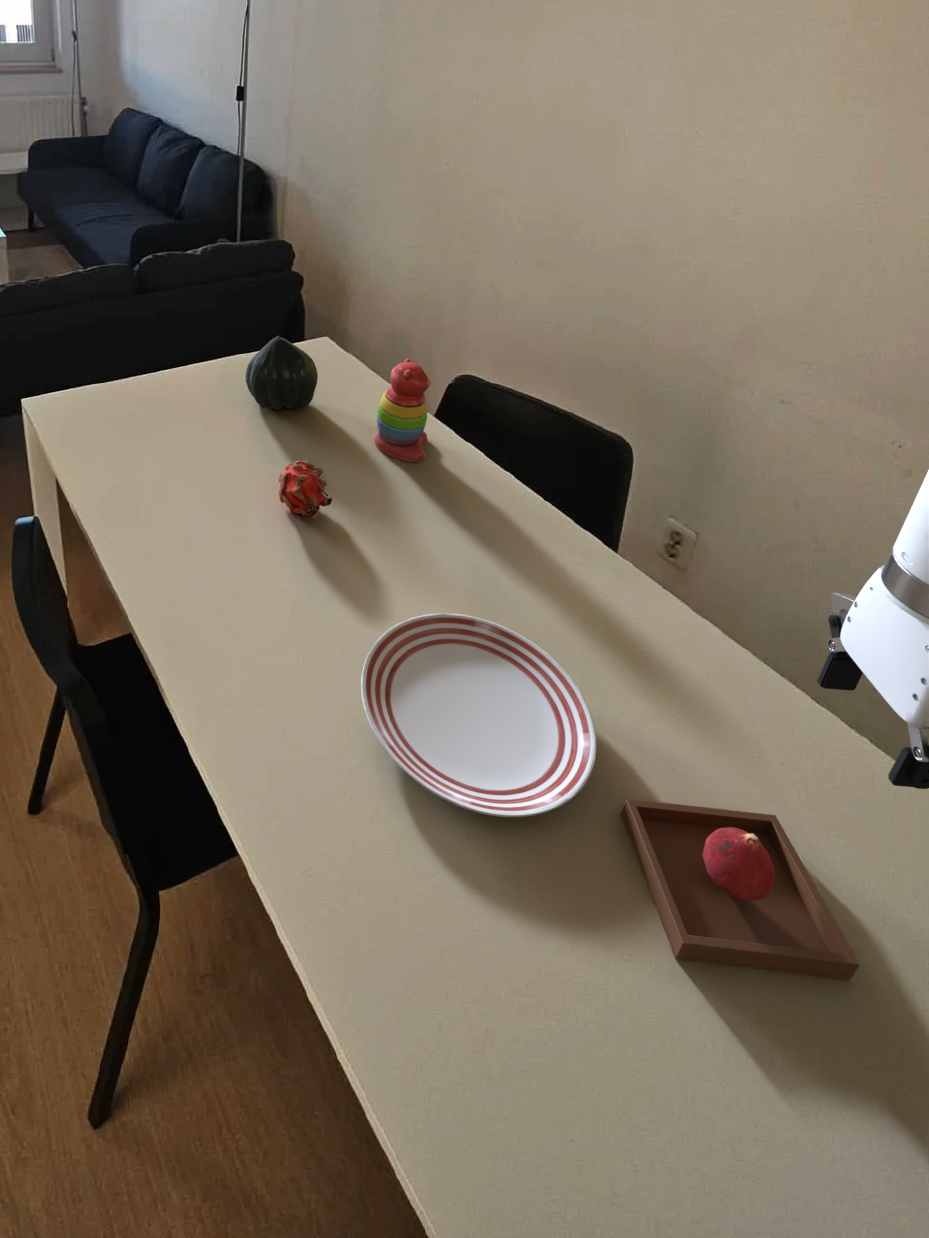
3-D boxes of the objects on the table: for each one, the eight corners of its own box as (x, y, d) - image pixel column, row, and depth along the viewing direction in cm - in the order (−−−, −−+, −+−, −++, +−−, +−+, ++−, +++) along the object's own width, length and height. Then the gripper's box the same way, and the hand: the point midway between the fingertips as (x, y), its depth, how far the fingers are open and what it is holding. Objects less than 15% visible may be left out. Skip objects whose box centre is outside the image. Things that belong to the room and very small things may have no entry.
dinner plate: (540, 890, 76) (547, 869, 75) (316, 723, 92) (318, 704, 91) (620, 711, 95) (626, 692, 94) (423, 599, 111) (426, 582, 110)
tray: (767, 830, 82) (775, 814, 81) (849, 980, 70) (860, 964, 69) (620, 813, 83) (626, 798, 82) (675, 959, 71) (683, 943, 70)
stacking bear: (423, 465, 143) (437, 382, 135) (369, 454, 145) (380, 372, 138) (427, 436, 152) (441, 357, 145) (377, 426, 155) (388, 348, 148)
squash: (309, 408, 150) (318, 335, 154) (235, 399, 153) (247, 328, 157) (314, 421, 163) (323, 354, 167) (246, 413, 166) (256, 347, 170)
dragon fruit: (294, 490, 137) (312, 542, 127) (259, 472, 133) (275, 525, 123) (326, 459, 134) (347, 510, 124) (291, 440, 130) (310, 491, 120)
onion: (704, 908, 74) (728, 858, 71) (686, 849, 80) (708, 799, 76) (770, 926, 73) (798, 875, 70) (748, 864, 78) (773, 814, 75)
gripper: (1091, 680, 54) (992, 833, 61) (913, 522, 70) (850, 657, 77) (979, 672, 55) (893, 824, 62) (827, 516, 71) (772, 652, 77)
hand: (869, 732), depth 69 cm, fingers open, 9 cm apart
